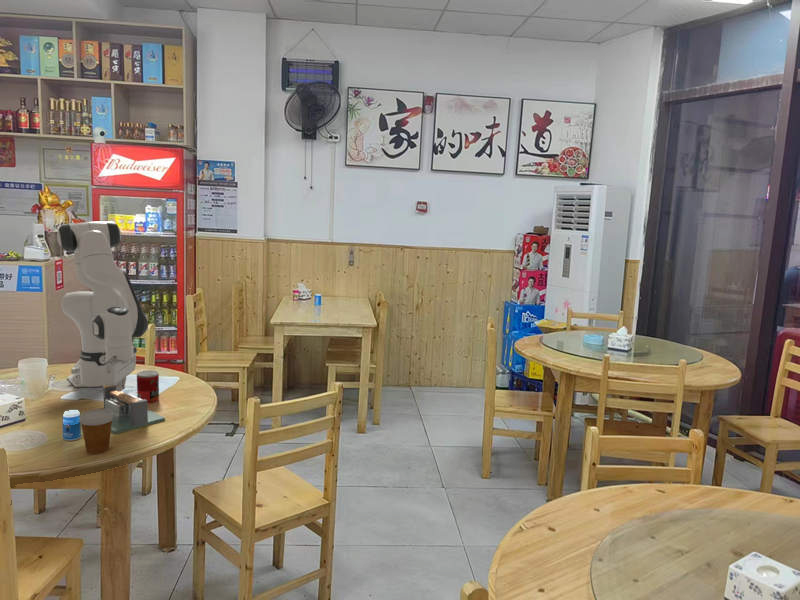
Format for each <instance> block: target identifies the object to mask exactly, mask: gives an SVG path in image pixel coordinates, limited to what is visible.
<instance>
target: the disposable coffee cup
mask: <svg viewBox="0 0 800 600" xmlns="http://www.w3.org/2000/svg"><path fill="white" fill-rule="evenodd" d="M113 417H114V415H113V414H112V411H110V410H107V409H102V408H97V409H90V410H87V411H84V412H82V413H81V414H80V417H79V419H78V421H79V422H80V424H81V427H82V428H81V429H82V434H83V441H84V445H85V450H86V454H89V455H100V454H104V453H106V452H108V451H109V450H110V441H111V434H112V432H111V425H112V419H113Z"/></svg>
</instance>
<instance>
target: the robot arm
mask: <svg viewBox="0 0 800 600" xmlns="http://www.w3.org/2000/svg"><path fill="white" fill-rule="evenodd" d="M121 239H122V232H121V228H120V227H119V225H118V224H117V223H116V222H115V221H110V220H106V221H93V220H91V221H85V222H77V223H71V224H70V223H67V224H63V225H60V226H59V227H58V230H57V233H56V240H57V243H58V246H60V248H61V250H64V251H65V252H71V253H73V254H74V255H73V256H74V257H73V258H74V267H75V274H76V278H77V281H78V282H79V283H80V284H82V285H84V286H86V287H87V288H89V289H90V290H91V291H84V290H83V291H81V290H80V291H79V290H78V291H70V292H67V293H65V294H64V296H63V297H62V299H61V301H60V308H61V311H62V312H63V313H64V315H66V317H69V318H70V319H71V320H72V321H73V322H74V323H75V325H76V327H77V328H78V331H79V333H80V338H81V349H80V356H79V360H78V361H77V362H76V363H75V364H73V368H71V369H70V372H71V374H69V375H68V376H67V377H66V379H67V380H68V381H69V382H70V383H71V385H72V386H74V387H75V388H77V387H79V388H83V387H84V388H87V387H88V388H95V387H97V388H98V387H103V385H105V386H116V391H117V392H123V390H125V388H126V381H127V377H128V376H129V375H130V374H132V373H133V372H134V371H135V370H136V367H137V366H136V365H137V363H136V362H137V354H136V353H137V352H138V347H137V346H134V344H133V340H132V338H141V337H142V336H143V335H145V334H146V333H147V331H148V330H149V322H148V318H147V316H146V314H145V312H144V310H143V308H142V306H141V304H140V302H139V299H138V297H137V294H136V292H135V290H134V287H133V285H132V281H131V280H130V277H129V276H128V274H127V272H125V271H124V270H122V269H120V267H119V266H118V265H117V264H116V261H115V259H114V254H113V250H112V249H114V248H115V247H116V248H117V246H118V245H120V244H121Z"/></svg>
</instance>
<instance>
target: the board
mask: <svg viewBox="0 0 800 600" xmlns="http://www.w3.org/2000/svg"><path fill="white" fill-rule="evenodd" d="M113 390H116V386H105V385H103V386H102V392H103V393H102V394H103V407H102V408H101V409H105V400H106V399H108V400H110V398H112V399H114V398H115V396H113V395H111V394H110V393H109V391H113ZM164 421H166V417H164V416H162V415H160V414H158V413H156V412H154V411H151V410H149V409H148V403H147V400H145V399H144V400H139V401H135V402H131V420H129V421H125V422H121V423H117V422H115V421H113V420H112V425H111V433H113V434H115V435H116V434H120V433H123V432H127V431H130V430H135V429H138V428H141V427H145V426H149V425H152V424H157V423H160V422H164Z"/></svg>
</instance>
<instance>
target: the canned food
mask: <svg viewBox="0 0 800 600" xmlns="http://www.w3.org/2000/svg"><path fill="white" fill-rule="evenodd" d="M159 376H160V375H159V372H158V371H156V370H142V371H139V372H137V373H136V389H137V392H136V397H137V398H140V399H142V400H144V399H145V400H147V404H150V403H152V404H153V403H156V402H158V401H159V398H160V382H159V381H160V380H159V379H160V377H159Z"/></svg>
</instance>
